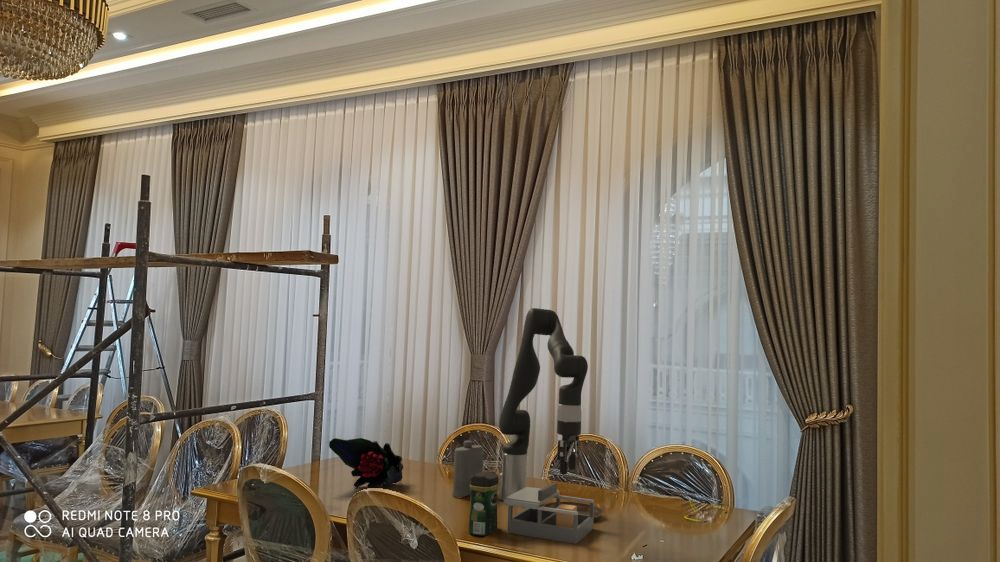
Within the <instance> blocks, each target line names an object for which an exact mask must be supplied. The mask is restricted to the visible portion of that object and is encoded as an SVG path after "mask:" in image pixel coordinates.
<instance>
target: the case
mask: <svg viewBox="0 0 1000 562" xmlns="http://www.w3.org/2000/svg"><path fill="white" fill-rule="evenodd" d="M554 498H555V500H556V501H555V502H556V508H549V507H543V506H541V505H540V506H539V508H538V509H537V508H530V507H523V506H517V505H510V504H507V505H508V510H507V512H508V514H507V533H509V534H515V535H520V536H527V537H533V538H539V539H545V540H552V541H555V542H556V541H558V542H563V543H568V544H574V545H575V544H576V545H577V544H578V543H579V542H580V541H581V540H583V539H584V538H585V537H586V536H587V535H588V534H589V533H591V531H592V530H594V506H595V500H594V499H589V498H583V497H582V498H581V497H577V496H576V497H575V496H568V495H561V494H559V495H556V496H555V497H553V498H552V499H554ZM561 499H562V500H568V501H573V502H580V503H587V504H588V503H589V505H590V515H584V514H578V512H576V511H569V510H563V509H557V507H558V506H559V505H560V502H561ZM514 507H517V508H518V507H519V508H525V509H523V510H521V511H520V512H518V513H516V514H514V515H513V510H514V509H513V508H514ZM556 512H558V513H565V514H572V515H574V521H573V528H568V527H562V526H556Z"/></svg>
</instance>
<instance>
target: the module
mask: <svg viewBox="0 0 1000 562" xmlns="http://www.w3.org/2000/svg"><path fill="white" fill-rule="evenodd" d="M557 509H563V510H569V511H576V512H577V506H574V505H567V504H561V505H559V506H558V507H557ZM573 521H574V515H572V514H565V513H558V512H556V526H562V527H568V528H573Z"/></svg>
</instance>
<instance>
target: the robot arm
mask: <svg viewBox="0 0 1000 562" xmlns="http://www.w3.org/2000/svg"><path fill="white" fill-rule="evenodd" d="M535 335H540V336H549V338H548V341H547V350H548V351H549V354H550V356H551V357H552V360H553V369H554V373H555V375H557V376H558V377H560V378H565V379H566V378H567V379H568V378H571V379H573V380H572V381H571V382H570V383H568V384H564V385H561V386H560V387H559V389H558V390H559V391H558V406H557V416H556V417H557V419H556V420H557V422H556V425H557V426H556V434H557V435H560V436H562V437H561V439H560V440H559V439H558V441H557V455H556V460H557V461H559V474H561V475H567V474H568V470H572V471H573V470H574V471H575V470H576V468H577V457H578V455H579V453H580V435H581V434H582V414H583V413H582V392H583V387H584V383H585V379H586V376H587V373H588V370H589V369H588V368H589V365H588V361H587V359H586V358H585V356H583V355H578V354H577V355H575V354H574V353H575V352H574V349H573V348H572V345H570V343H569V341H568V340H567V339H566V336H565V333H564V329H563V326H562V324H561V321H560V319H559V316H558V314H557V312H555V311H554V310H552V309H547V308H546V309H545V308H544V309H543V308H537V307H531V308H530V309H528V311H527V313H526V316H525V320H524V324H523V331H522V337H521V340H520V341H521V342H520V346H519V350H518V355H517V358H516V361H515V365H514V369H513V372H512V377H511V378H512V379H511V383H510V386H509V390H508V392H507V393H508V394H507V396H506V399H505V401H504V404H503V407H502V410H501V412H500V417H499V422H498V427H499V431H500V433H501V434H502V435H504V436H505V435H507V436H515V437H514V438H513V439H512V440H511V441H508V442H507V443H504V444H503V446H502V467H501V470H502V471H501V473H499V486H498V490H499V491H498V500H500V501H503V502H504V499H505V498H506V497H508V496H510V495H512V494H514V493H516V492H518V491H519V490H521V489H523V488H525V487H527V470H528V468H527V467H528V448H529V446H530V445H529V443H530V434H531V416H530V413H529V412H528V411H527V410H525V409H518V408H519V405H520V404H521V402H522V401H523V400H524V399H525V398H527V396H528V395H529V394H530V393H531V392H532V391H533V389H534V388H535V387H536V385H537V382H538V380H539V375H540V372H541V365H540V360H539V359H538V356H537V353H536V350H535V346H534V338H535Z"/></svg>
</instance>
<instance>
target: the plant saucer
mask: <svg viewBox="0 0 1000 562" xmlns="http://www.w3.org/2000/svg"><path fill="white" fill-rule="evenodd" d="M561 504H567V505H574V506H577V512H578V514H584V515H590V504H588V503H584V502H577V501H560V505H561ZM542 507H549V508H556V501H555V502H553V501H552V502H549V503H548V502H547V503H545V504H544V505H543V506H542ZM603 515H604V511H603V510H602V509H601V508H600V507H598V506H595V505H594V521H599V520H600V519H601V518H602V516H603ZM594 521H593V522H594Z"/></svg>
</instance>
